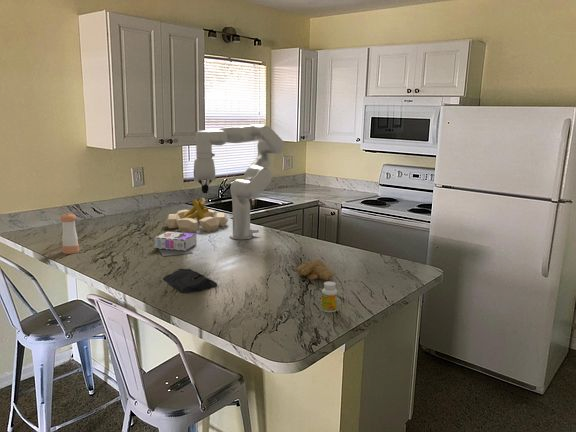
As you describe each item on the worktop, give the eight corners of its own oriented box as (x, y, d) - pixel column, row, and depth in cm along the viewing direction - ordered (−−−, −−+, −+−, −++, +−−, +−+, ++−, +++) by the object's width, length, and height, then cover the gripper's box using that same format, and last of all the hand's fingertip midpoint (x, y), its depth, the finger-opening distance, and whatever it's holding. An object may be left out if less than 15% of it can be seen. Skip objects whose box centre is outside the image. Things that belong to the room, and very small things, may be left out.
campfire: (238, 226, 288) (237, 198, 284) (192, 237, 263) (191, 206, 259) (201, 217, 310) (200, 191, 307) (155, 226, 285) (154, 198, 282)
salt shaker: (73, 254, 227) (69, 214, 223) (59, 253, 229) (55, 213, 225) (82, 250, 234) (79, 211, 230) (69, 249, 236) (65, 210, 232)
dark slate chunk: (194, 272, 206) (194, 262, 205) (220, 287, 189) (219, 276, 188) (160, 279, 197) (159, 268, 196) (183, 296, 180) (183, 284, 179)
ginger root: (293, 267, 209) (298, 250, 208) (328, 276, 210) (333, 259, 208) (292, 280, 194) (297, 262, 192) (330, 290, 195) (336, 272, 193)
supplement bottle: (319, 311, 167) (320, 284, 165) (323, 305, 172) (324, 279, 170) (334, 313, 165) (335, 287, 163) (338, 308, 170) (339, 281, 168)
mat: (185, 246, 244) (185, 245, 244) (192, 253, 232) (192, 252, 232) (157, 248, 238) (157, 248, 238) (163, 256, 226) (163, 255, 226)
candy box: (185, 239, 232) (153, 237, 236) (185, 251, 234) (154, 249, 237) (196, 233, 246) (166, 230, 249) (196, 244, 247) (166, 242, 250)
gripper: (216, 155, 244) (217, 190, 248) (187, 155, 238) (188, 192, 242) (221, 156, 237) (221, 193, 241) (191, 157, 231) (192, 195, 235)
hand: (205, 192), depth 241 cm, fingers closed
